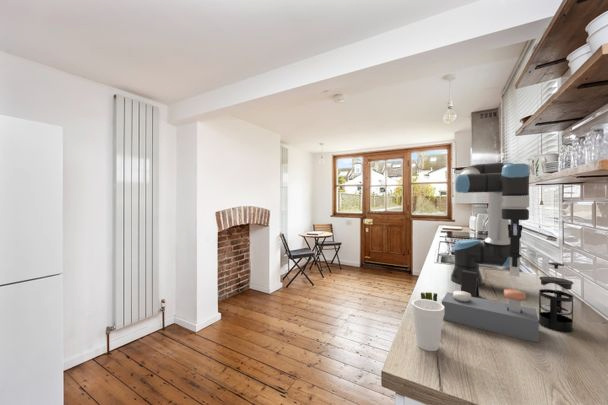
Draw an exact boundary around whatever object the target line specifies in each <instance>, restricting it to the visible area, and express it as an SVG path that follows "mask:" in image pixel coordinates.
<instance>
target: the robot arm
mask: <svg viewBox="0 0 608 405" xmlns="http://www.w3.org/2000/svg"><path fill="white" fill-rule="evenodd" d="M530 174H531V172H530V166H529V164H527V163H513V162H494V163H477V164H473V165H469V166H467V167H464V168H463V169H461V170H460V171H459V173H458V174H457V175H455V182H454V184H455V185H454V186H455V192H456V193H458V194H459V193H463V194H468V193H473V194H474V193H488V204H487V205H488V210H487V211H488V212H487V213H488V214H487V216H488V217H487V218H488V219H487V237H485V238H484V240H483V242H480V240H479V239H472V238H471V239H470V238H469V239H467V238H466V239H461V240H456V241H455V242H454V249H453V250H454V267H453V270H452V273H451V274H450V281H452V282H454V283H456V284H460V285H461V283H462V271H463V270H467V271H473V272H478V283H479V286H482V285H483V284H484V280H483V277H482V273H481V271H480V265H483V266H491V267H492V266H494V267H499V268H501V267H504V268H509V276H512V277H513V276H514V277H519V278H520V270H521V269H520V268H521V267H520V266H521V265H520V258H523V257H522V256H523V255H522V254H520V249H521V248H520V246H521V245H520V244H521V243H520V242H521V240H520V239H521V238H522V231H523V225H522V224H520V221H528V220H529V219H530V210H529V209H528V208H529V207H530ZM509 220H510V221H509ZM509 222H510V224H509ZM509 238H510V239H509Z"/></svg>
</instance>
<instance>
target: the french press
mask: <svg viewBox="0 0 608 405" xmlns="http://www.w3.org/2000/svg"><path fill="white" fill-rule="evenodd" d="M548 265H551V266H553V268H554V270H555V272H554V274H555V275H554V276H545V275H544V276H543V275H542V276H539V280H540V284H541V285H542V286H546V285H548V284H554V289H548V288H547V289H546V288H544V289H542V288H541V289H539V290H538V291H539V292H538V308H539V309H538V320H539V325H540V326H542V327H543V328H546V329H547V330H552V331H554V332H560V333H568V334H570V333H574V332H575V329H574V295H572V294H571V293H568V292H565V291H562V290H558V289H557V286H559V287H561V288H562V289H565V290H566V291H567V290H568V291H569V290H573V289H572V287H573V286H572V285H574V282H573V281H571V280H569V279H565V278H561V277H558V276H557V273H558V269H559V266H560V267H564V266H565V264H563V263H559V262H553V261H552V262H548ZM550 294H553V295H550ZM542 297H543V298H546V299H548V300H550V301H549V302H550V303H542V301H541V300H542ZM565 302H567V303H571V309H569V308H566V307H563V303H565ZM541 309H542V310H543V311H542V310H541ZM568 316H571V318H570V317H568Z"/></svg>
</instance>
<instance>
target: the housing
mask: <svg viewBox="0 0 608 405" xmlns="http://www.w3.org/2000/svg"><path fill="white" fill-rule="evenodd" d="M441 304H442V305H443V306H444V307H445V315H444V317H443V321H449V322H452V323H456V324H460V325H465V326H469V327H473V328H476V329H481V330H485V331H489V332H493V333H496V334H500V335H505V336H509V337H512V336H513V338H516V337H517V339H520V338H521V340H524V341H529V342H532V343H536V342H537V344H538V343H539V342H540V340H539V338H540V337H539V332H540V331H539V329H540V326H539V325H540V324H539V315H538V313H537V309H536V308H532V307H527V306H522V305H521V313H516V312H511V311H509V303H507V302H502V301H496V300H491V299H484V298H480V297H478V298H476V297H471V301H467V302H462V301H457V300H456V299H454V298H453V292H448V291H447V292H446V294H445V295H444V297H443V298H442V300H441Z"/></svg>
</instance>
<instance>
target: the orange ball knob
mask: <svg viewBox="0 0 608 405" xmlns="http://www.w3.org/2000/svg"><path fill="white" fill-rule="evenodd" d="M526 294H527V293H526V292H524V291H522V290H518V289H512V288H504V289H503V297H504V298H506V299H508V304H509V311H511V312H516V313H521V306H522V305H521V304H522V303H521V302H524V301H526V297H527V295H526Z"/></svg>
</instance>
